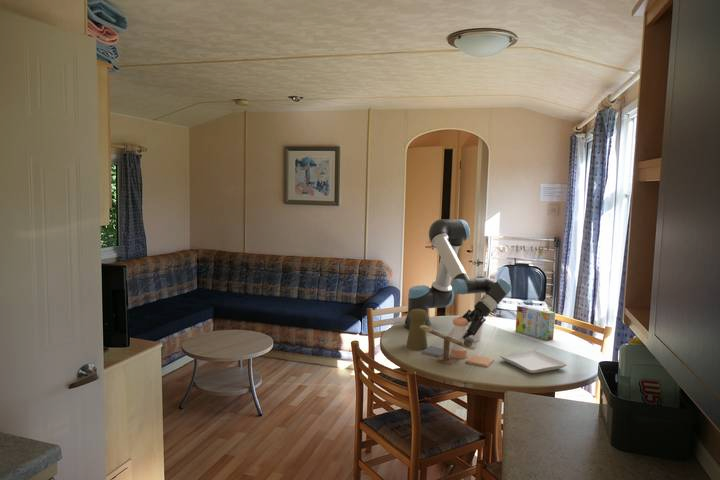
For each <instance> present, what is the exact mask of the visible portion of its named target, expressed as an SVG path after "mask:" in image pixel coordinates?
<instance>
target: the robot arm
mask: <svg viewBox="0 0 720 480" xmlns="http://www.w3.org/2000/svg"><path fill="white" fill-rule="evenodd" d="M470 235H471V230H470V226H469V224H468V221H466V220H464V219H459V218H456V219H454V218H453V219H452V218H450V219H449V218H448V219H445V218H443V219H442V218H440V219H436V220H434V222H432V224H431V225H430V226H429V230H428V238H429V239H428V240H429V241H430V243H431V245H432V246H433V247H435V249H436V252H437V253H438V255H439V256H440V259H439V264H438V268H437V273H436V276H435V281H432V284H431V287H430V286H428V285H424V284H423V285H421V284H419V285H415V286H412V287H410V288H409V289H408V294H407V297H408V298H407V300H408V301H407V314H406V317H405V320H404V322H403V324H404V325H403V326H404V328H405V329H407V330H409V328H410V322H411V320H410V319H409V312H410V311H411V310H412V309H423V310H425V311H426V312H427V320H426V321H425V325H426V326H429V327H431V328H432V323H431V319H430V315H429V309H437V308H441V309H442V308H443V309H444V308H448V307H450V306H451V305H452V304H453V302H454V300H455V294H456V295H472V294H484V295H483V296H482V297H481V298H480V300H479V301H477V303H475V305H474V307H473V308H474V309H473V310H471V309H468V310H467V311H466V312H465V313H464V314H462V315H461V317H462V318H465V319H467V321H468V323H469V322H471V324H470V326H469V328H468V330H467V329H466V331H465V332H464V333H463V334H462V335H461V337H460V338H459V339H458V341H460V342H462V343H463V342H464V340H465V338H466V337H469V336H470V335H473V336H474V335H475V334H476V332H477V331H478V330H479V328H480V327H481V325H482V324H483V325H484V323H485V322H486V321H487V319H486V317H488V316H489V315H490V314H491V313H492V312H491V311H494V310H495V309H496V308H497V306H498V305H499V304H500V303H501V302H502V301H503V299H505V297H506V296H508V294H509V293H510V292H511V290H512V285H511V284H510V283H509V282H508V281H507V280H506V279H504V278H499V279H498V280H494V279H492V278H489V276H486V275H478V276H475V277H469V276H468V274H467V272H466V270H465V268H464V266H463V264H462V263H461V261H460V259H459V257H458V252H459V249H460V248H461V247H462V246H463V243H464V242H465V241H467V240H468V239H469V238H470ZM446 336H448V337H450V338H453V336H454V327H453V328H452V329H451V330H450V331H449V332H448V333H447V334H446Z"/></svg>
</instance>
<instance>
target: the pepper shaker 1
mask: <svg viewBox="0 0 720 480" xmlns="http://www.w3.org/2000/svg"><path fill="white" fill-rule="evenodd" d="M409 319H410V320H411V322H410V328H409V329H408V335H407V341H406V348H407V350H410V351H411V350H412V351H417V352H418V351H419V352H422V351H423V350H425V349H426V348H428V341H427V332H426V331H423V330H422V329H420V326H421V325H425V321H426V320H427V312H426V311H425V310H423V309H412V310H411V311H410V312H409Z"/></svg>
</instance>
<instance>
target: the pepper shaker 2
mask: <svg viewBox="0 0 720 480" xmlns="http://www.w3.org/2000/svg"><path fill="white" fill-rule="evenodd" d="M452 324H453V328H454V336H453V339H455V340H458V339H459V338H460V337H461V335H462V334H463V333H464V332H465V331H466V330H467V325H468V321H467V319H465V318H462V315H459V317H455V318H453V320H452ZM466 332H467V331H466ZM451 343H452V342H451ZM463 343H464V342H463ZM450 348H451V350H450V351H451V352H450V356H451V358H453V359H466V358H467V355H468V354H467V353H468V350H467V349H466V348H464V347H462V346H460V345H457V344H455V343H452V347H450Z"/></svg>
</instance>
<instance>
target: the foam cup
mask: <svg viewBox="0 0 720 480" xmlns="http://www.w3.org/2000/svg"><path fill="white" fill-rule="evenodd" d="M470 324H471V322H469V323H468V325H467V326H466V330H468V328H469V326H470ZM483 327H484V323H483V324H482V325H481V327H480V328H479V330H478V331H477V332H476V334H475V335H474V336H473V335H470V336H469V338H472V339H474V340H473V342H475V341H477V342H481V339H482V333H483Z"/></svg>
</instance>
